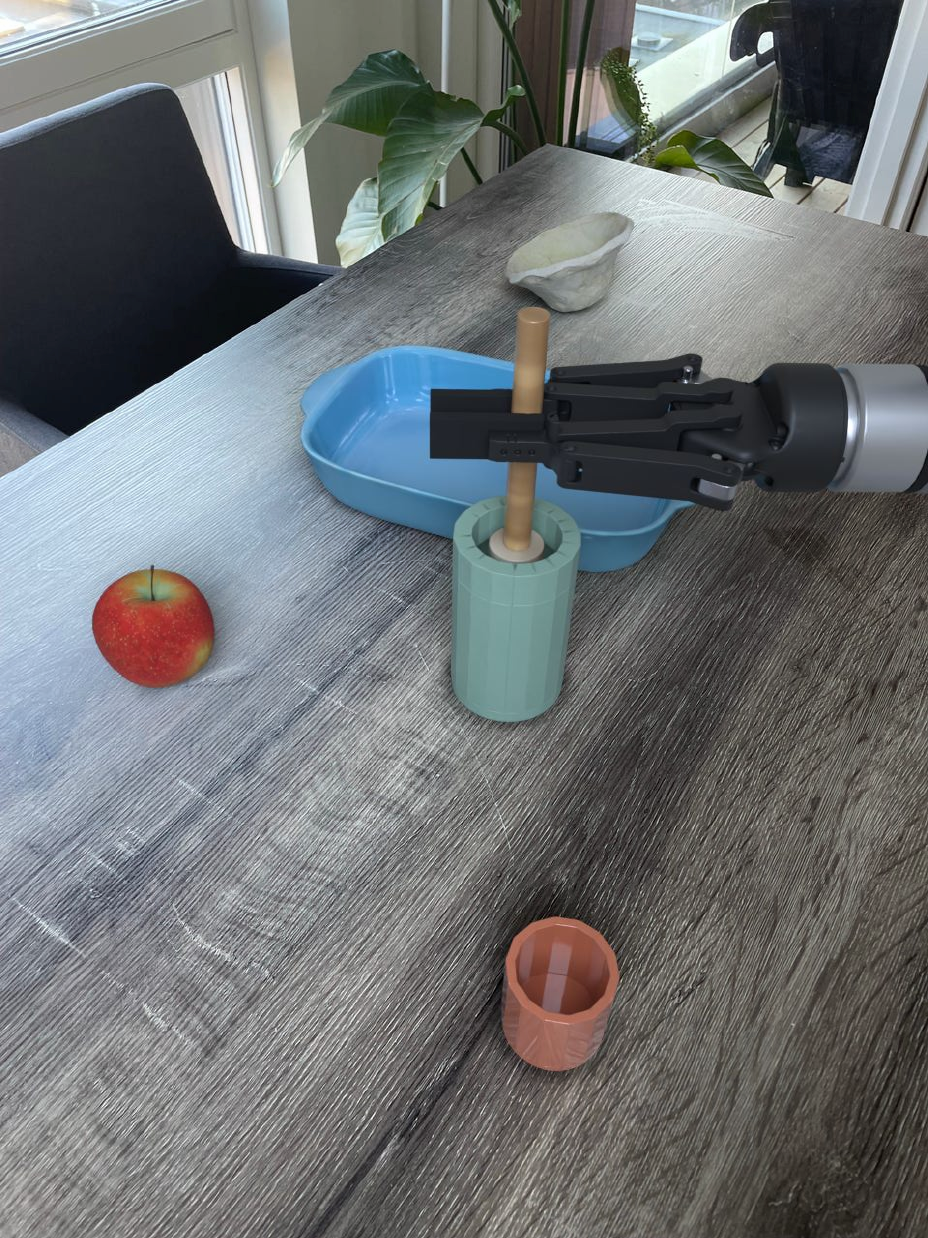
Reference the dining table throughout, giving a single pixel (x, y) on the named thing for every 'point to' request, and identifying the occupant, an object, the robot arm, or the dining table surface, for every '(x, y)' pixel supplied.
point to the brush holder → (558, 992)
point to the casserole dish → (444, 488)
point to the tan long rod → (527, 397)
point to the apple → (154, 627)
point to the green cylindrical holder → (511, 613)
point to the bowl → (571, 260)
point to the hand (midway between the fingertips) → (430, 423)
